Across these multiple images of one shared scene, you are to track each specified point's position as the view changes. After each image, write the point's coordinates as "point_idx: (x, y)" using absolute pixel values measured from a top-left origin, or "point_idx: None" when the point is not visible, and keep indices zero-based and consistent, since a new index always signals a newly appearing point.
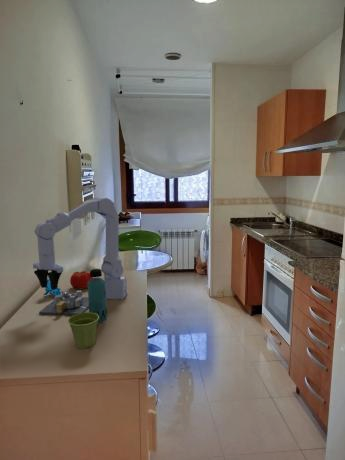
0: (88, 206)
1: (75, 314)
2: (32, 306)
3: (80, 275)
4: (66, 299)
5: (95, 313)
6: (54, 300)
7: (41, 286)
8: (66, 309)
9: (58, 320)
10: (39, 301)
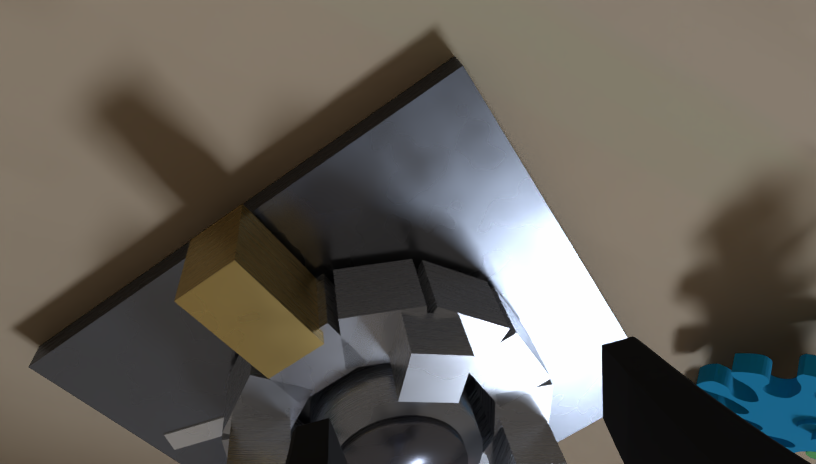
0: None
1: (81, 322)
2: (740, 115)
3: None
4: (339, 408)
5: None
6: (613, 325)
7: (642, 353)
8: None
9: (75, 131)
10: (776, 226)
